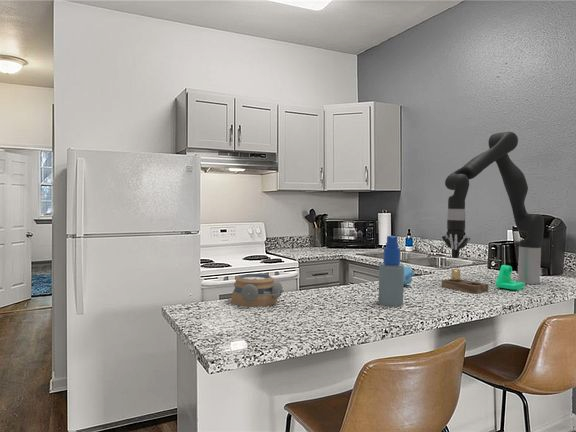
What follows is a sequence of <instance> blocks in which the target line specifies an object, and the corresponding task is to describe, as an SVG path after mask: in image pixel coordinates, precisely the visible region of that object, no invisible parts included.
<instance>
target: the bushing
mask: <svg viewBox="0 0 576 432" xmlns="http://www.w3.org/2000/svg"><path fill="white" fill-rule="evenodd" d="M450 273H451V274H450V275H451V276H450V277H451V278H450V279H451V281H454V282H460V279H461V269H458V268H451V272H450Z"/></svg>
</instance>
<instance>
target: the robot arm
mask: <svg viewBox="0 0 576 432" xmlns="http://www.w3.org/2000/svg"><path fill="white" fill-rule="evenodd" d="M518 144H519V137H518V135H517V134H516V133H515V132H513V131H503V132H502V131H501V132H496V133H493V134H491V135H490V136H489V138H488V147H489V148H488V150H485V151H484V152H482V153H480V154H477V155H476V156H474V157H473V158H472V159H470V160H469V161H467V163H465V164H464V165H463V166H461V167H460V168H458V169H457V170H455V171H453V172H451V173H450V174H449V175H448V176H447V177H446V178H445V181H444V186H445V187H446V189H448V190H450V191H453V195H452V194H451V195H450V196H449V197H448V198H447V199H448V200H447V214H446V215H447V217H446V229H447V231H446V234H445V235H443V236H442V237H441V238H442V240H443V242H444V243H445V245H446V247H448V248H449V249H451V257H452V258H453V259H458V258H460V250H461V249H464V248H465V247H466V245H467V244H468V243H469V242H470V241H471V238H470V237H468V236H467V235H466V232H465V231H466V198H467V194H468V191H469V189H470V180H472V179H474V178H476V177H477V176H478V175H479V174H480V173H482V172H483V171H484V170H485V169H486V168H488V167H489V166H490V165H492V164H493V163H494V162H495V164H496V166H497V168H498V171H499V173H500V176H501V179H502V182H503V185H504V189H505V192H506V194H507V196H508V200H509V203H510V205H511V210H512V215H513V218H514V224H515V226H516V228H517V230H518V231H519V232H521V233H528V235H527V237H526V238H523V239H520V240H519V242H518V266H517V282H522V283H525V285H526V284H528V285H539V284H541V283H540V280H541V262H542V259H541V257H542V243H543V240H544V232H545V220H544V217H543V216H542V215H541V214H539V213H528V212H527V209H526V205H525V201H526V197H527V195H528V190H529V185H528V183H527V179H526V176H525V174H524V172H523V171H522V169H520V168H519V167H518V166H517V165H516V164H515V163H514V161H512V160H511V158H510V155H509V154H510V153H511V152H512V151H514V150H515V149H516V148H517V146H518Z"/></svg>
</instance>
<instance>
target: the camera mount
mask: <svg viewBox="0 0 576 432" xmlns="http://www.w3.org/2000/svg"><path fill="white" fill-rule="evenodd" d="M512 273H513V266H511V265H508V264H502V265H501V266H500V268H499V272H498V275H497V279H496V282H495V287H496V288H500V289H507V290H511V291H521V290H523V288H524V287H525V286H526V283H522V282H518V281H515V280H512V279H511V275H512Z"/></svg>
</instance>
